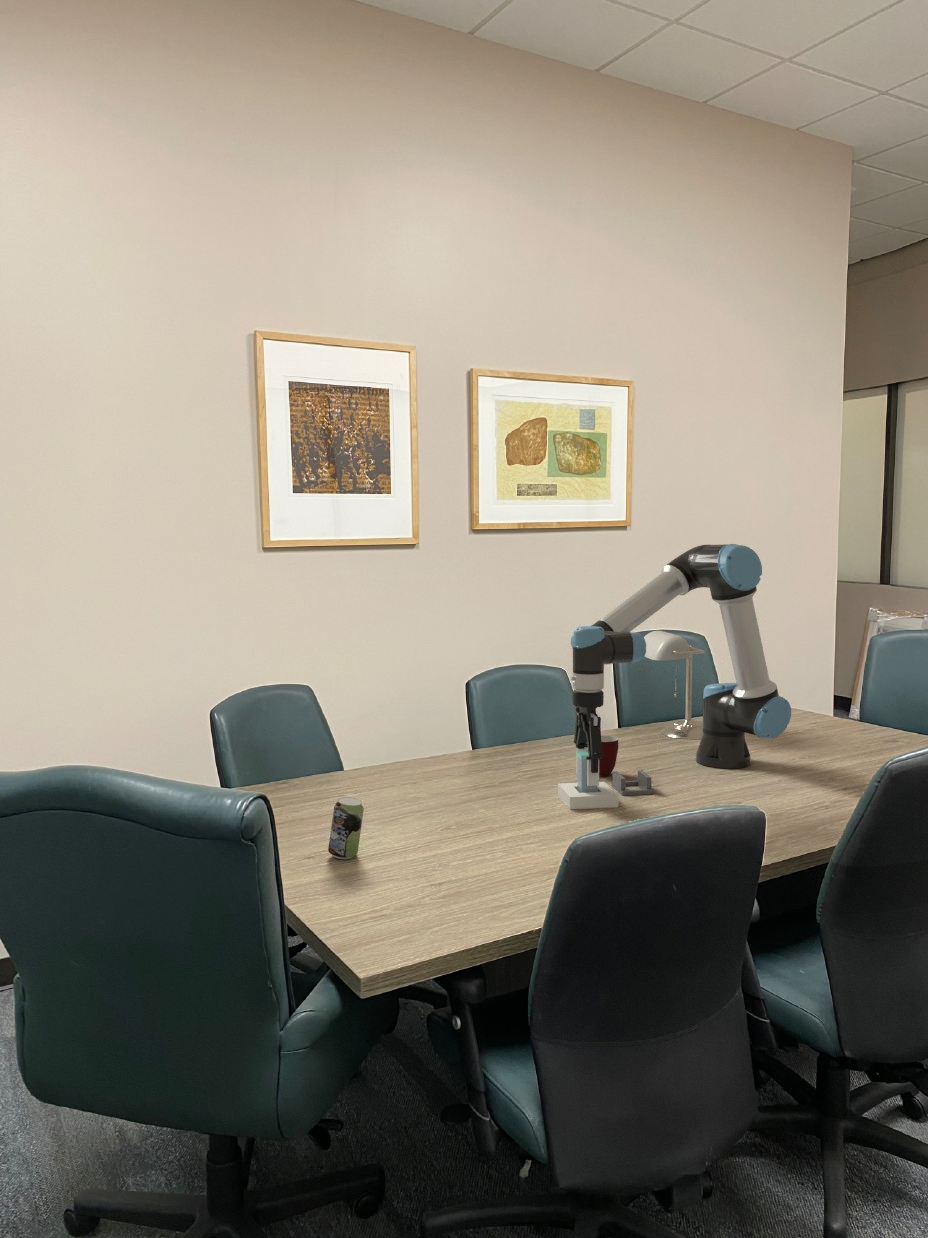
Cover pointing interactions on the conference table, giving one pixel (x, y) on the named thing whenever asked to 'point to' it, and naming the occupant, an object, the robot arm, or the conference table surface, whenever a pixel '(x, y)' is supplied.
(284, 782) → the conference table surface
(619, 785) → the holster
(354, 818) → the beverage can
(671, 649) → the lamp
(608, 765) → the mug
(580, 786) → the plug
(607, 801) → the frame
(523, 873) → the conference table surface
